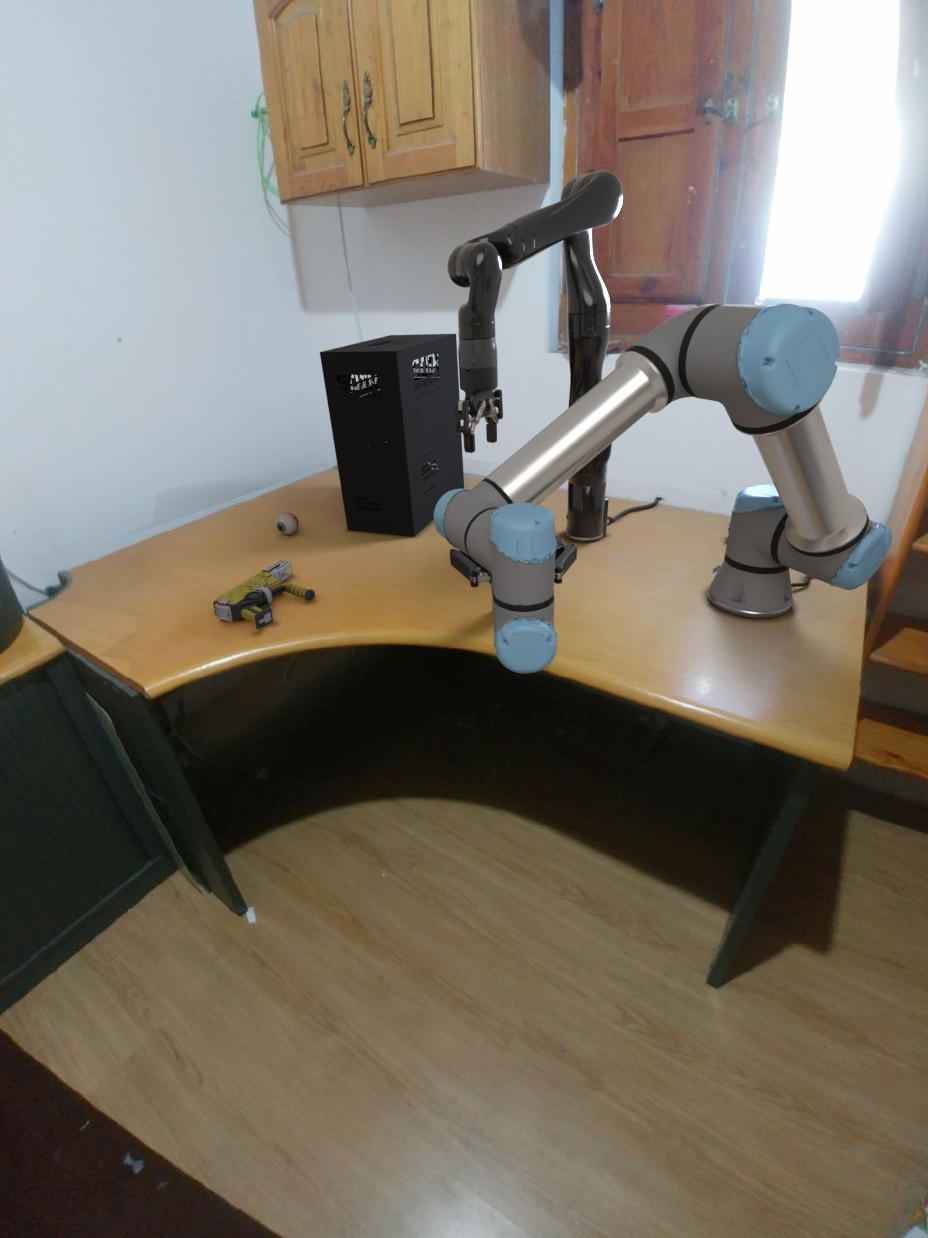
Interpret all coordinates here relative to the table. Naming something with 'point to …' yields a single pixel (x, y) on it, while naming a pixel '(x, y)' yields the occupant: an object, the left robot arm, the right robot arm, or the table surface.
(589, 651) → the table surface
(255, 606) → the toy gun
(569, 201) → the left robot arm
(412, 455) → the cardboard box
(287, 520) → the eyeball
